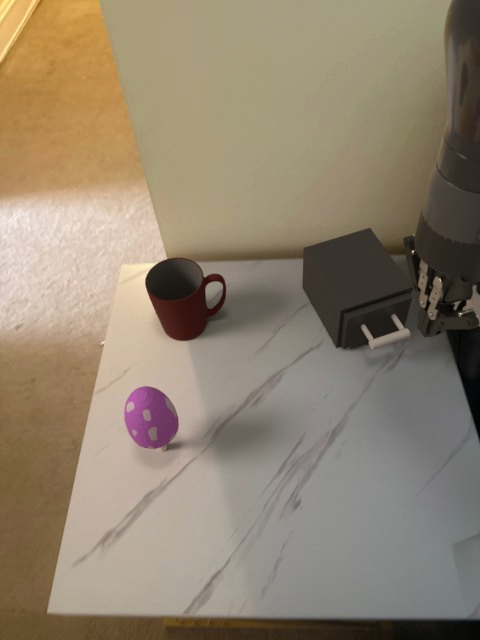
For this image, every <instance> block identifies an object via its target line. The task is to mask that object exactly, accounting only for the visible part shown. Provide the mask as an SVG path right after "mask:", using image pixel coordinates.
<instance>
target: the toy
mask: <svg viewBox="0 0 480 640" xmlns="http://www.w3.org/2000/svg"><path fill="white" fill-rule="evenodd" d="M123 417H124V424H125V427H126V429H127V432H128V434H129V436H130V438H131V439H132V440H133V442H134V443H135V444H136V445H137V446H139V447H141V448H143V449H148V450H156V449H159V451H160V452H166V451H167V450H168V444H169V443H171V442H172V441H173V440H174V439H175V437H176V435H177V433H178V431H179V426H180V424H179V421H180V420H179V416H178V413H177V409H176V407H175V405H174V404H173V402H172V401H171V399H170V398H169V396H168V395H167V394H165V393H164V392H163V391H161V389H158V388H157V387H153V386H148V385H144V386H139V387H137V388H135V389H134V390H133V391H132V392H131V393H129V395H128V397H127V398H126V400H125V404H124V410H123Z"/></svg>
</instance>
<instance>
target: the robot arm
mask: <svg viewBox="0 0 480 640" xmlns="http://www.w3.org/2000/svg"><path fill="white" fill-rule="evenodd" d="M443 54H444V55H443V56H444V73H445V95H446V106H447V107H446V109H447V117H446V118H447V120H446V122H445V126H444V129H443V133H442V137H441V141H440V146H439V149H438V153H437V156H436V157H437V158H436V161H435V163H434V166H433V168H432V170H431V172H430V175H429V178H428V181H427V184H426V188H425V192H424V196H423V201H422V205H421V208H420V212H419V217H418V222H417V224H416V225H417V226H416V230H415V233H413V234H410V235H407V236H404V237H403V239H402V241H403V242H402V243H403V248H404V253H405V258H406V263H407V269H408V275H409V280H410V283H411V285H412V291H413V292H414V293H418V292H419V297H418V303H419V305H420V309H419V312H418V315H417V325H416V327H417V330H419V332H420V333H421V335H422V336H423V338H428V337H429V338H433V337H436V336H439V335H441V334H444V332H445V330H446V331H447V330H472V329H475V328H478V327H480V0H451V1H450V4H449V6H448V10H447V13H446V15H445V20H444V28H443ZM464 301H466V303H465V305H464V306H463V307H462V310H459V311H458V310H457V309H458V307H459V305H460V303H461V302H464Z"/></svg>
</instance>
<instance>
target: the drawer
mask: <svg viewBox="0 0 480 640" xmlns="http://www.w3.org/2000/svg"><path fill="white" fill-rule="evenodd" d="M412 301H413V297H412V294H411V295H410V294H409V292H407V293H404V294H401V295H396V296H393V297H390V298H387V299H384V300H381V301H378V302H377V303H374V304H371V305H368V306H365V307H362V308H359V309H355V310H352V311H349V312H348V311H347V312H345V313H344V318H343V326H342V334H341V343H340V344H341V348H342V349H343V350H346V349H350V348H352V347H356V346H358V345H361V344H364V343H367V342H368V346H369V347H370V349H371V350H376V349H379V348H382V347H385V346H388V345H390V344H394V343H397V342H400V341H403V340H405V339H408V338H411V332H410V330H409V329H408V328H407V327H405V326H406V323H407V318H408V316H409V312H410V308H411V304H412Z"/></svg>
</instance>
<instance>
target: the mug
mask: <svg viewBox="0 0 480 640" xmlns="http://www.w3.org/2000/svg"><path fill="white" fill-rule="evenodd" d="M214 282H215V283H216V282H217V283H221V285H222V292H221V296H220V299H219V300H218V302H217V303H216V304H215V305H214V306H213V307H211V308H209V307H208V305H207V293H206V289H207V286H208V284H210V283H214ZM144 285H145V289H146V292H147V295H148V298H149V300H150V302H151V305H152V307H153V309H154V312H155V314H156V316H157V318H158V321H159V323H160V325H161V327H162V329H163V331H164V333H165V335H167V336H168V337H169V338H171V339H172V340H175V341H183V342H184V341H190V340H193V339H195V338H197V337H198V336H200V335H201V334H202V333H203V332H204V331H205V329H206V327H207V324H208V319H210V318H212V317H214V316H215V315H217V314H218V313H219V312H220V311H221V309H222V307H223V306H224V304H225V301H226V298H227V284H226V281H225V278H224V277H223V275H221V274H219V273H210V274H208V275H206V276H204V272H203V269H202V267H201V266H200V264H198V263H197V262H196V261H194V260H192V259H190V258H188V257H187V258H186V257H170V258H167V259H163V260H161V261H159V262H158V263H156V264H154V265H153V266H152V267H150V269H149V270H148V272H147V273H146V276H145V280H144Z"/></svg>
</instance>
